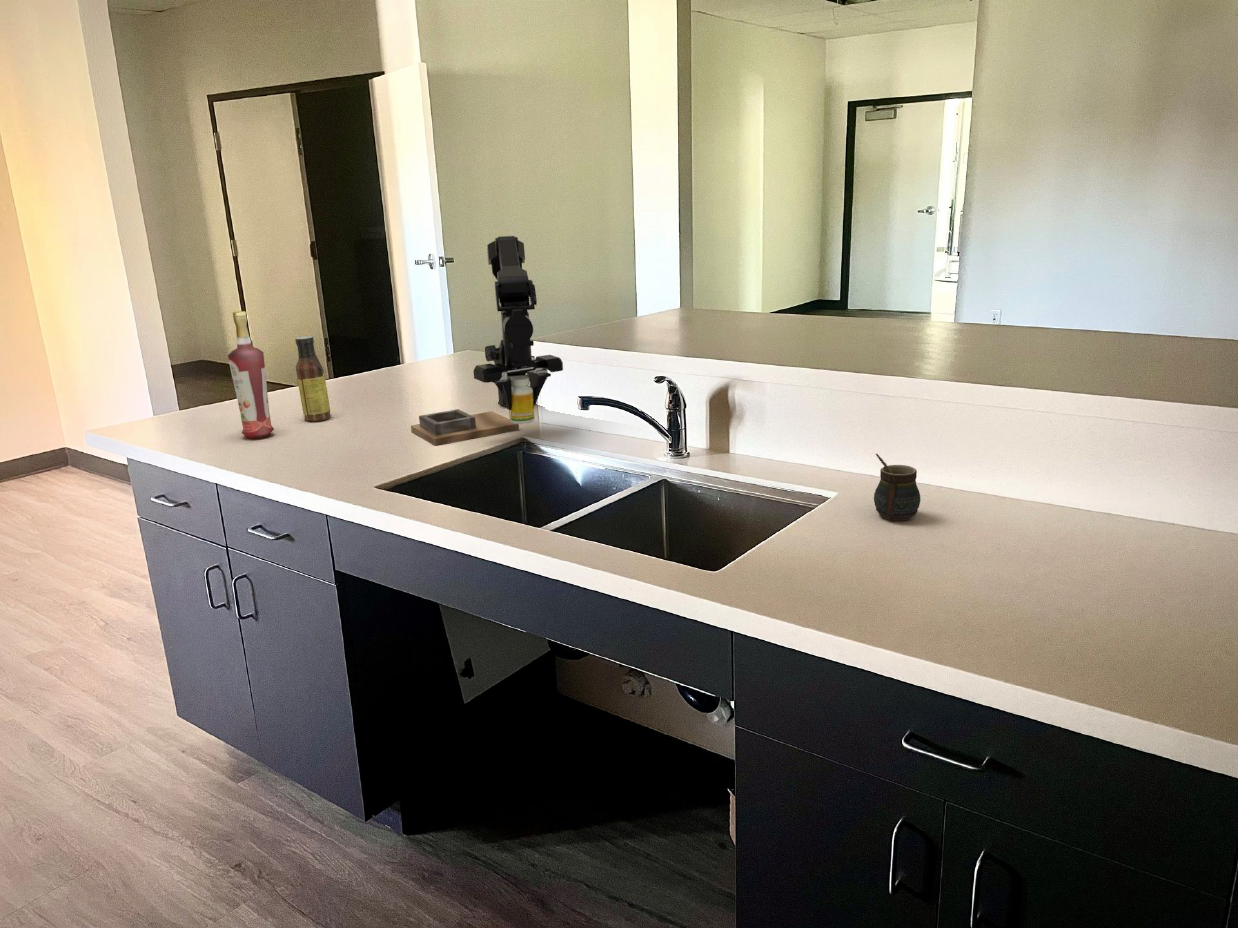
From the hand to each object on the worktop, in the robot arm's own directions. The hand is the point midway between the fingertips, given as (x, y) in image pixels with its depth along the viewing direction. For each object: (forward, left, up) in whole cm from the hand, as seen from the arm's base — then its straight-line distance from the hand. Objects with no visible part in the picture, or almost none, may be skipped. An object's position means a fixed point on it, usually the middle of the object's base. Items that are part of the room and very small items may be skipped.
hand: (521, 407), depth 194 cm
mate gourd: (-26, +80, -7) cm, 84 cm away
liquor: (+47, -39, -7) cm, 62 cm away
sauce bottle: (+32, -46, -7) cm, 56 cm away
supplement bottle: (0, 0, -3) cm, 3 cm away
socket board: (+8, -13, -7) cm, 17 cm away
